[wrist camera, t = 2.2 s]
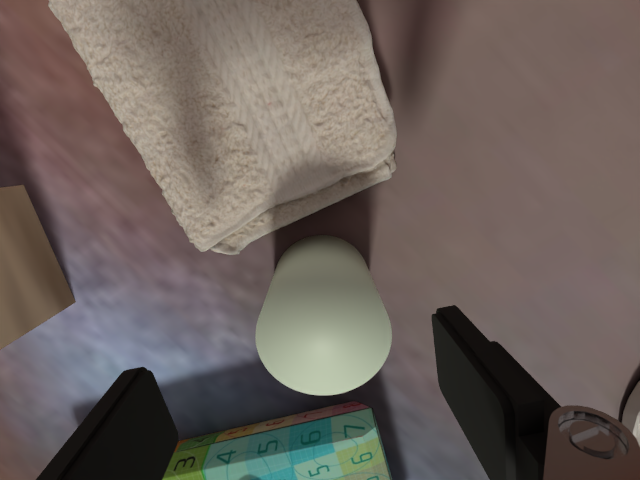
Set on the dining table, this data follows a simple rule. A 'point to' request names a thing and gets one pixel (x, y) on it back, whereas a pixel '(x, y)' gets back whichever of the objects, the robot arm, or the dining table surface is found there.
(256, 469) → the puzzle game
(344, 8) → the washcloth
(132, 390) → the robot arm
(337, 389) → the sage round block
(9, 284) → the oak base block
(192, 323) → the dining table surface
